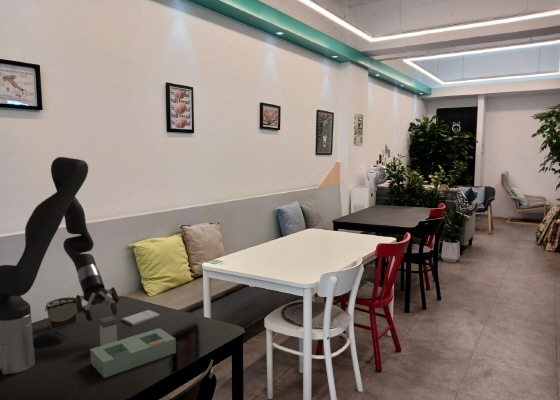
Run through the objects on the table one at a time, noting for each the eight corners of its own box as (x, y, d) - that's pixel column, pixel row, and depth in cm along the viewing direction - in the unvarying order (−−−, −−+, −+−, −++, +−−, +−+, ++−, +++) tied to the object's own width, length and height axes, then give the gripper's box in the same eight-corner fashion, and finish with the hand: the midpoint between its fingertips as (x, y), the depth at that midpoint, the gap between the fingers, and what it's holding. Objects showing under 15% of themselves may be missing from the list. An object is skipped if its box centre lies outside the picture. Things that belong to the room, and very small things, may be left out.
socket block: (104, 378, 129) (103, 361, 129) (91, 363, 138) (90, 348, 138) (176, 352, 145) (175, 338, 144) (160, 341, 154) (159, 327, 153)
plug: (105, 350, 148) (103, 322, 147) (100, 345, 151) (98, 318, 150) (117, 346, 151) (116, 319, 149) (113, 342, 154) (111, 315, 153)
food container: (75, 317, 177) (73, 294, 176) (80, 322, 173) (78, 298, 172) (42, 326, 169) (40, 302, 168) (47, 331, 164) (45, 306, 163)
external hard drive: (121, 322, 174) (148, 312, 183) (132, 327, 168) (159, 317, 178) (121, 318, 174) (148, 309, 183) (132, 323, 168) (159, 313, 178)
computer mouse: (61, 345, 153) (60, 334, 152) (27, 348, 151) (26, 337, 150) (66, 337, 159) (66, 327, 159) (34, 340, 157) (33, 330, 157)
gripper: (71, 278, 153) (84, 317, 146) (111, 270, 163) (125, 307, 156) (68, 289, 158) (80, 328, 151) (107, 280, 167) (120, 317, 160)
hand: (103, 317), depth 153 cm, fingers open, 8 cm apart
